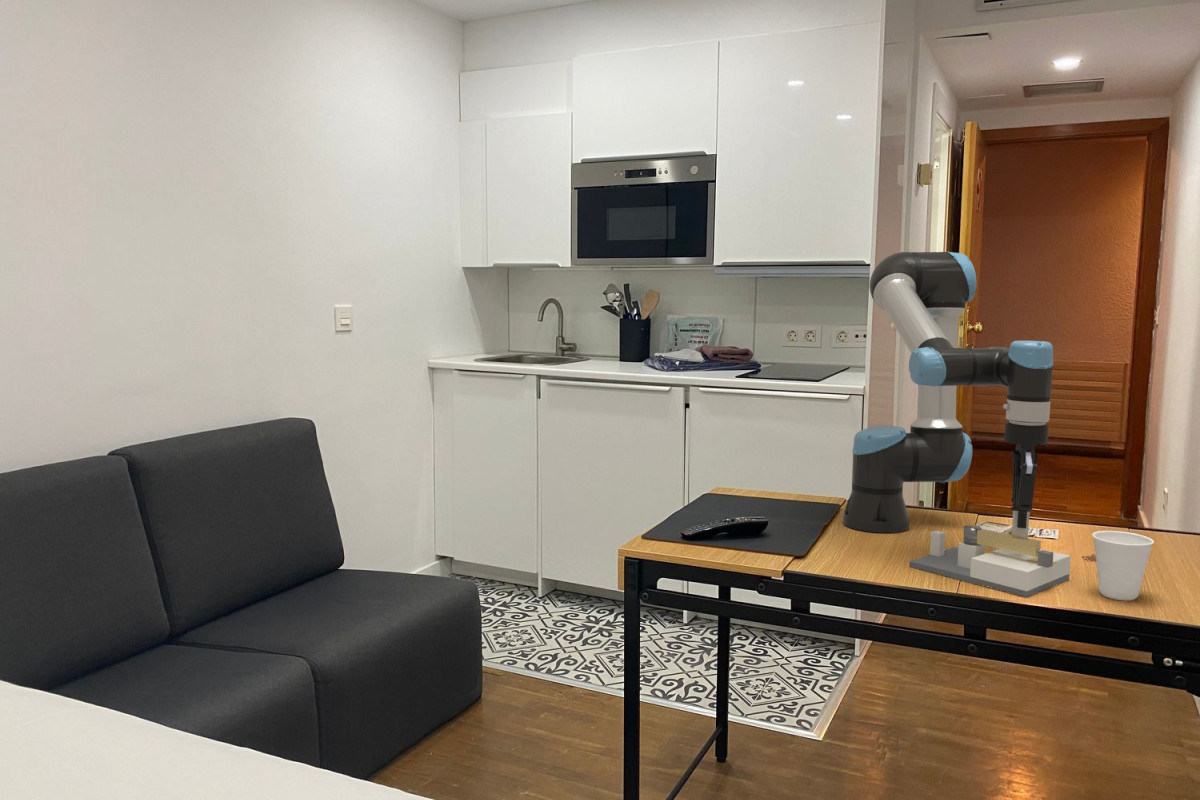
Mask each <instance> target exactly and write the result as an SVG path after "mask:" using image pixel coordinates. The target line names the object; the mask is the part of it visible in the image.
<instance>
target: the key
mask: <svg viewBox="0 0 1200 800" xmlns="http://www.w3.org/2000/svg"><path fill="white" fill-rule="evenodd" d="M1084 556H1085V557H1084ZM1084 558H1086V559H1084ZM1087 558H1088V559H1087ZM1081 559H1084V560H1083V561H1085V560H1087V561H1086V562H1093V561H1095V563H1096V555H1095V554H1093V553H1092V554H1091V555H1082V558H1081ZM1089 560H1090V561H1089Z"/></svg>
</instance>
